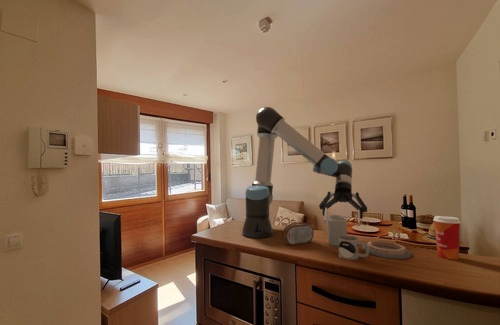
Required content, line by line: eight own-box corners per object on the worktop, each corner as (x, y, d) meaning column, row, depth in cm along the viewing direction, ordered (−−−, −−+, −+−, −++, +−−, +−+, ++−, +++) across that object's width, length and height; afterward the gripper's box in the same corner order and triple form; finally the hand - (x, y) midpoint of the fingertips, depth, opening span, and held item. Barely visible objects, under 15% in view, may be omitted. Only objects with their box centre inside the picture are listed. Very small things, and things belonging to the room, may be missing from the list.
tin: (310, 240, 104) (310, 221, 104) (315, 242, 101) (314, 222, 101) (282, 244, 97) (281, 224, 98) (286, 246, 94) (286, 225, 95)
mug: (336, 257, 82) (336, 238, 83) (340, 252, 88) (340, 234, 88) (367, 263, 77) (367, 243, 77) (370, 257, 82) (370, 238, 83)
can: (343, 242, 100) (343, 214, 101) (349, 248, 93) (349, 217, 94) (326, 242, 101) (325, 214, 102) (330, 247, 94) (329, 217, 94)
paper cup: (432, 252, 88) (431, 214, 89) (459, 255, 84) (457, 216, 85) (436, 258, 81) (434, 218, 82) (465, 262, 78) (463, 220, 78)
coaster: (356, 251, 88) (356, 245, 88) (368, 242, 100) (368, 237, 100) (407, 262, 78) (407, 255, 78) (414, 250, 89) (413, 244, 90)
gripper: (371, 191, 111) (374, 230, 97) (318, 190, 122) (313, 225, 108) (371, 181, 107) (374, 220, 93) (316, 180, 118) (311, 215, 104)
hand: (341, 222), depth 100 cm, fingers open, 13 cm apart
